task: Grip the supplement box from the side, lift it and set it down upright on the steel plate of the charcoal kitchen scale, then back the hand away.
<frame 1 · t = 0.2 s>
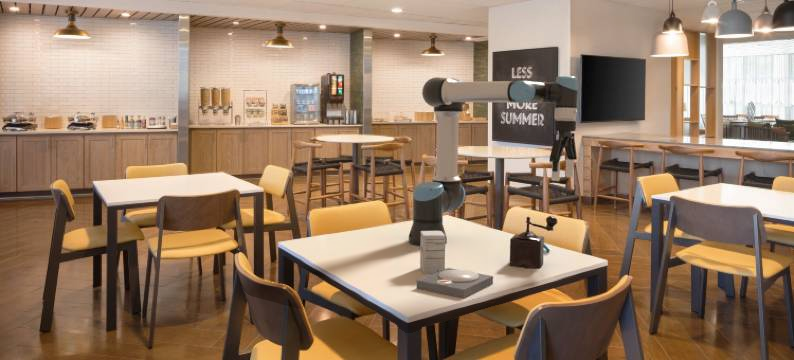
hand: (562, 178, 227), 28 cm above the table, tool pointing down, fingers open, 13 cm apart
manual coffee grinder: (533, 265, 214), on the table
supplement box: (432, 271, 206), on the table
blue toy animal: (539, 251, 235), on the table
scale: (455, 285, 188), on the table
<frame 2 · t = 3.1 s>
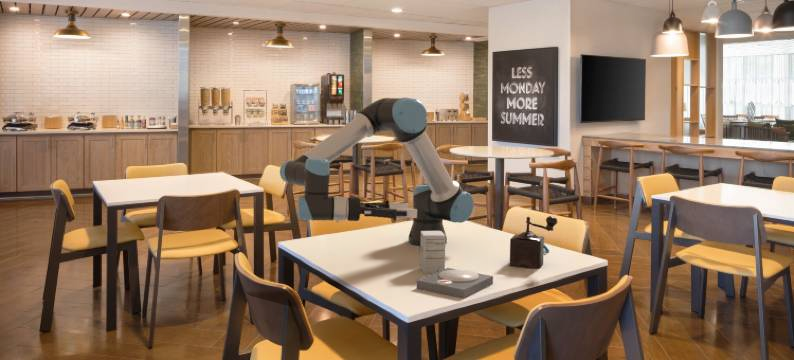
hand: (412, 210, 202), 20 cm above the table, tool horizontal, fingers open, 13 cm apart
nothing on the table moved.
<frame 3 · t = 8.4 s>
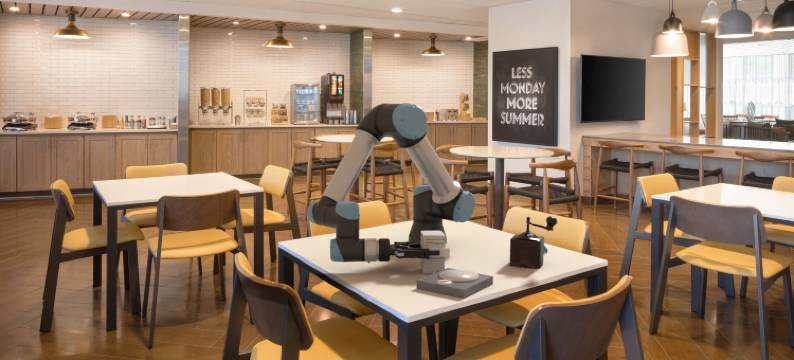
hand: (447, 249, 205), 7 cm above the table, tool horizontal, fingers closed on supplement box, 7 cm apart
supplement box: (432, 271, 206), on the table, touching gripper
everything else where it was.
when the fingers open (11 cm above the table, at t = 13.1 s): supplement box drops 1 cm, resting on scale.
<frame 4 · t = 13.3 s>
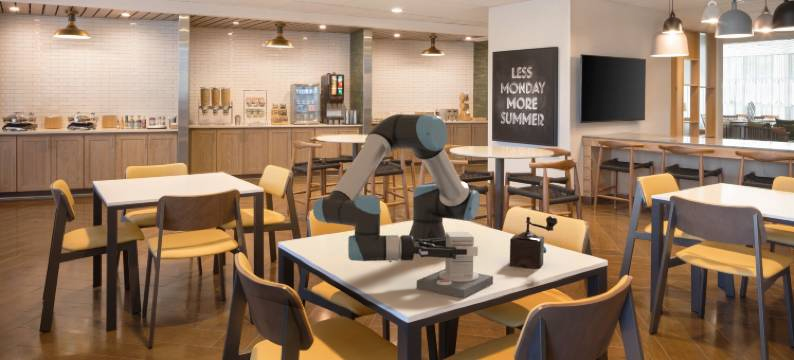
hand: (473, 247, 189), 11 cm above the table, tool horizontal, fingers open, 9 cm apart
supplement box: (458, 275, 189), point 3 cm above the table, touching scale
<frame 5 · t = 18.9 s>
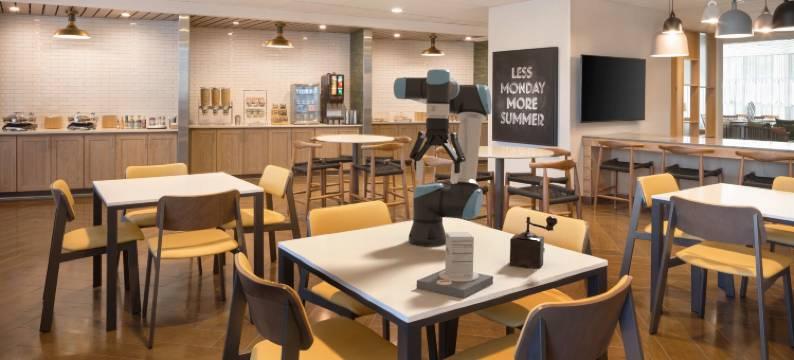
hand: (436, 181, 208), 29 cm above the table, tool pointing down, fingers open, 13 cm apart
at the end: supplement box inside the target area on the scale (0.1 cm from its centre), point 2.8 cm above the scale's base; supplement box tilted 0°; the gripper is holding nothing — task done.
